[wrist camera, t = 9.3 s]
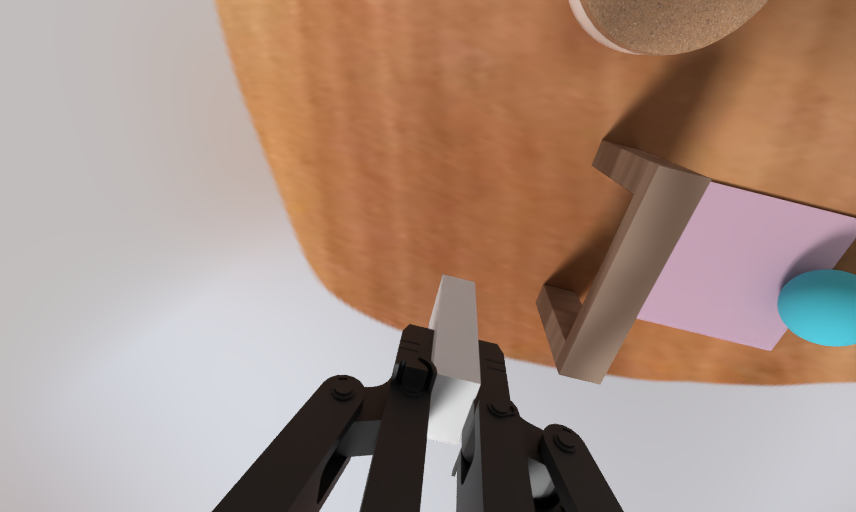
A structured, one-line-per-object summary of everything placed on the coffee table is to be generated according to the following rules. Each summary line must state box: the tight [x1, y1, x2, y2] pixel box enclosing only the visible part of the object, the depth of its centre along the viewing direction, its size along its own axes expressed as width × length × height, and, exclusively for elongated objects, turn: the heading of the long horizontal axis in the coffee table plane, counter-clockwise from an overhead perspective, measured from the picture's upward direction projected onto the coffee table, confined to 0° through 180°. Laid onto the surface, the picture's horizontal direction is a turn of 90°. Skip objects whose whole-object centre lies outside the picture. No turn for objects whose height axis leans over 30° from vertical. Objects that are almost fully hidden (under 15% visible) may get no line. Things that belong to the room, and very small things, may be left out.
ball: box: [777, 269, 856, 346], centre depth 31 cm, size 6×6×6 cm
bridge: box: [536, 140, 712, 384], centre depth 29 cm, size 3×15×10 cm, turn 167°
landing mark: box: [637, 182, 856, 351], centre depth 34 cm, size 13×13×1 cm
